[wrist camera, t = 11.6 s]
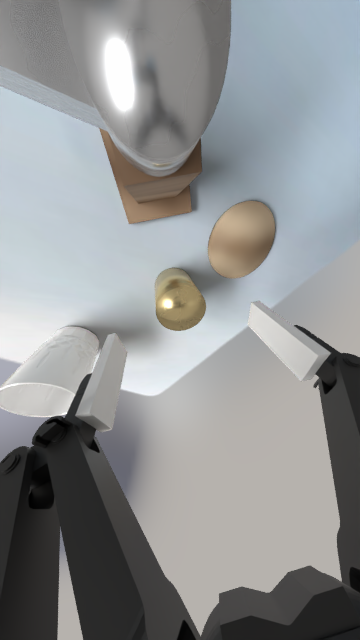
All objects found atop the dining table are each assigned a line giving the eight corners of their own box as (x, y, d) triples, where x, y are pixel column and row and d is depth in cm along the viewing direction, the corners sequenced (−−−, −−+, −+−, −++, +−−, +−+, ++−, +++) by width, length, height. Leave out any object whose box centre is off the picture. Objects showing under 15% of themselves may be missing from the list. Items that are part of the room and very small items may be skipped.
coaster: (206, 209, 16) (208, 208, 16) (280, 194, 16) (283, 194, 16) (208, 282, 21) (210, 283, 21) (263, 270, 22) (266, 271, 21)
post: (98, 122, 11) (-24, -106, 3) (181, 108, 12) (244, -130, 4) (130, 223, 16) (107, 227, 8) (189, 212, 16) (228, 204, 8)
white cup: (99, 323, 22) (70, 380, 14) (106, 355, 27) (87, 413, 19) (41, 322, 21) (-29, 386, 13) (58, 356, 25) (15, 420, 17)
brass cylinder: (150, 272, 19) (149, 293, 14) (189, 264, 19) (204, 282, 14) (159, 306, 22) (162, 335, 17) (193, 299, 23) (206, 324, 17)
